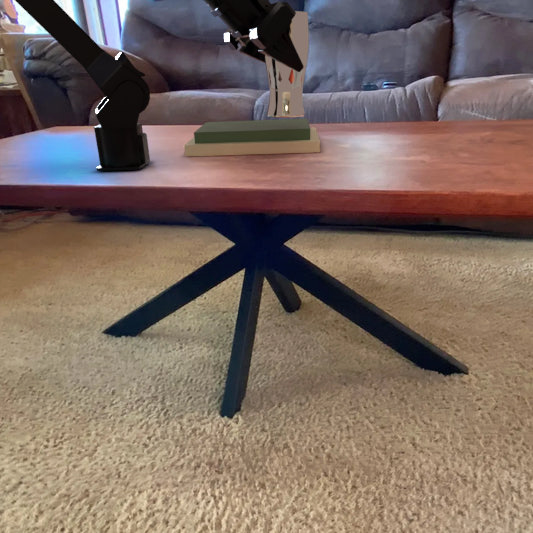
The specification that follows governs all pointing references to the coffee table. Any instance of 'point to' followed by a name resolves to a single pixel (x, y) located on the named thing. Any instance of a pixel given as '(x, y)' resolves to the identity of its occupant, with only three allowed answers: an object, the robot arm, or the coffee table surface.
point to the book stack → (253, 138)
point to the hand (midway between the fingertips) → (293, 69)
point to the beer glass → (289, 74)
